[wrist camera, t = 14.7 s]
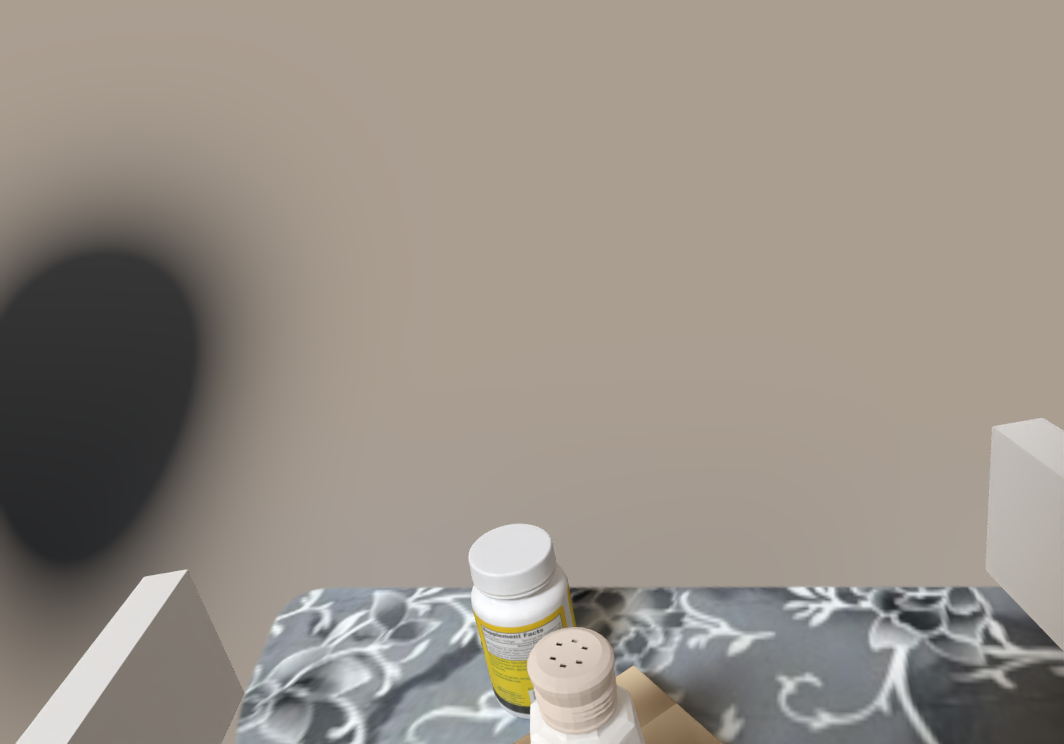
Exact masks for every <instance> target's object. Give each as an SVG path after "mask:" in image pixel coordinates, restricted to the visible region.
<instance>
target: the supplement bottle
mask: <svg viewBox="0 0 1064 744" xmlns="http://www.w3.org/2000/svg"><path fill="white" fill-rule="evenodd" d="M469 564H470V569H471V575H472V576H471V577H472V580H473V582H474V586H473V589H472V593H471V603H472V608H473V612H474V616H475V620H476V623H477V627H478V631H479V635H480V639H481V644H482V647H483V650H484V654H485V659H486V662H487V666H488V670H489V674H490V678H491V682H492V686H493V690H494V693H495V696H496V699H497V701H498V702H499V704H500V705H501V707H502V708H503V709H504V710H506V711H507V712H508V713H510V714H512V715H514V716H516V717H520V718H524V719H530V705H531V704H532V703H533V702H534V701H535V700H536V696H535V692H534V685H533V684H532V682H531V679H530V677H529V674H528V671H527V660H528V657H529V654H530V652H531V651H532V649H533V648H534V646H535V645H536V644H537V642H539V641H540V640H541V639H542V638H543V637H544V636H546V635H548V634H550V633H551V632H553V631H556V630H559V629H562V628H569V627H577V626H576V622H575V616H574V611H573V606H572V601H571V595H570V590H569V585H568V579H567V577H566V574H565V573H564V571H563V569H562V568H561V567H560V566H559V565H558V564H557V563H556V557H555V553H554V549H553V545H552V540H551V538H550V536H549V534H548V533H547V532H546V531H544V530H543V529H541V528H539V527H537V526H534V525H529V524H510V525H505V526H501V527H498V528H495V529H493V530H491V531H489V532H487V533H485V534H484V535H482V536H481V537H480V538H479V539H478V540H476V541H475V543H474V544H473V546H472V547H471V549H470V551H469Z"/></svg>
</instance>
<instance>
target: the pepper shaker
mask: <svg viewBox="0 0 1064 744" xmlns="http://www.w3.org/2000/svg"><path fill="white" fill-rule="evenodd" d="M614 663H615V661H614V653H613V648H612V646H611V645H610V643H609V641H608V640H607V639H606V638H604V637H603V636H602V635H601V634H599V633H597V632H595V631H593V630H591V629H587V628H583V627H569V628H562V629H559V630H556V631H553V632H551V633H550V634H548V635H546V636H544V637H543V638H542V639H541V640H540V641H539V642H537V644H536V645H535V646H534V648H533V649H532V651H531V652H530V654H529V657H528V660H527V671H528V674H529V677H530V679H531V682H532V684H533V685H534V692H535V696H536V700H535V701H534V702H533V703H532V704H531V705H530V739H531V744H645V741H644V737H643V734H642V730H641V727H640V723H639V720H638V717H637V713H636V710H635V706H634V704H633V701H632V698H631V695H630V693H629V691H628V690H626V689H624V688H623V687H621V686H619V685H617V684H616V677H615V671H614Z"/></svg>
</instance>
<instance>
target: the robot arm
mask: <svg viewBox="0 0 1064 744" xmlns="http://www.w3.org/2000/svg"><path fill="white" fill-rule="evenodd" d="M987 528H988V529H987V550H986V571H987V572H988V573H989V574H990V575H991V576H992V577H993V578H994V580H995V581H996V582H997V583H998V584H999V585H1000V586H1001V587H1002V588H1003V589H1004V590H1005V591H1006V592H1007V593H1008V594H1009V595H1010V596H1011V597H1012V598H1013V599H1014V600H1015V601H1016V602H1017V603H1018V604H1019V606H1020V607H1021V608H1022V609H1023V610H1024V611H1025V612H1026V613H1027V614H1028V615H1029V616H1030V617H1031V618H1032V619H1033V620H1034V621H1035V622H1036V623H1037V624H1038V625H1039V626H1040V627H1041V628H1042V629H1043V630H1044V631H1045V633H1046V634H1047V635H1048V636H1049V637H1050V638H1051V639H1052V640H1053V641H1054V642H1055V643H1056V644H1057V645H1058V646H1059V647H1060V648H1061V649H1062V650H1063V651H1064V431H1063V430H1061V429H1060V428H1058V427H1057V426H1055V425H1053V424H1052V423H1050V422H1049V421H1047V420H1046V419H1044V418H1038V419H1032V420H1027V421H1021V422H1016V423H1010V424H1004V425H999V426H994V427H992V442H991V463H990V485H989V506H988V527H987ZM243 695H244V691H243V689H242V687H241V685H240V682H239V680H238V678H237V676H236V674H235V671H234V670H233V667H232V665H231V663H230V660H229V658H228V656H227V654H226V652H225V650H224V647H223V645H222V643H221V641H220V639H219V637H218V634H217V632H216V630H215V628H214V626H213V623H212V621H211V619H210V617H209V615H208V613H207V610H206V608H205V606H204V604H203V601H202V599H201V597H200V595H199V593H198V591H197V588H196V586H195V584H194V582H193V580H192V577H191V575H190V573H189V571H188V569H187V570H182V571H176V572H170V573H164V574H159V575H153V576H147V577H144V578H143V579H142V580H141V582H140V583H139V584H138V586H137V587H136V588H135V590H134V591H133V592H132V593H131V595H130V596H129V597H128V599H127V600H126V601H125V603H124V604H123V605H122V606H121V608H120V609H119V610H118V612H117V613H116V614H115V615H114V617H113V618H112V619H111V621H110V622H109V623H108V625H107V626H106V627H105V628H104V630H103V631H102V632H101V634H100V635H99V636H98V638H97V639H96V640H95V641H94V643H93V644H92V645H91V647H90V648H89V649H88V650H87V652H86V653H85V654H84V656H83V657H82V658H81V660H80V661H79V662H78V663H77V665H76V666H75V667H74V669H73V670H72V671H71V673H70V674H69V675H68V676H67V678H66V679H65V680H64V682H63V683H62V684H61V686H60V687H59V688H58V689H57V691H56V692H55V693H54V694H53V696H52V697H51V698H50V700H49V701H48V702H47V704H46V705H45V706H44V708H43V709H42V710H41V712H40V713H39V714H38V715H37V717H36V718H35V719H34V720H33V722H32V723H31V724H30V726H29V727H28V728H27V730H26V731H25V732H24V734H23V735H22V736H21V737H20V739H19V740H18V741H17V742H16V744H221V743H222V741H223V739H224V736H225V734H226V732H227V730H228V728H229V726H230V723H231V721H232V719H233V717H234V715H235V712H236V710H237V708H238V706H239V704H240V702H241V699H242V697H243Z"/></svg>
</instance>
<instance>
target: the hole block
mask: <svg viewBox="0 0 1064 744" xmlns="http://www.w3.org/2000/svg"><path fill="white" fill-rule="evenodd" d="M616 684H617V685H619V686H621V687H623V688H624V689H626V690H628V691H629V693H630V695H631V698H632V701H633V704H634V706H635V710H636V713H637V717H638V720H639V723H640V727H641V730H642V734H643V737H644V741H645V744H722V743H721V742H720V741H719V740H717V739H716V738H715V737H714V736H713V735H712V734H711V733H710V732H708V731H707V730H706V729H705V728H704V727H703V726H702V725H701V724H699V723H698V722H697V721H696V720H695V719H694V718H693V717H692V716H690V715H689V714H688V713H687V712H686V711H685V710H684V709H682V708H681V707H680V706H679V705H678V704H677V703H676V702H675V701H673V700H672V699H671V698H670V697H669V696H668V695H667V694H666V693H664V692H663V691H662V690H661V689H660V688H659V687H658V686H657V685H655V684H654V683H653V682H652V681H651V680H650V679H649V678H647V677H646V676H645V675H644V674H643V673H642V672H641V671H640V670H638V669H637V668H636V667H635V666H632V667H631V668H629V669H628V670H626V671H625V672H623V673H622V674H620V675H618V676H617V677H616ZM513 744H531V739H530V733H529V734H527V735H526V736H524V737H523V738H521V739H520V740H518V741H516V742H515V743H513Z"/></svg>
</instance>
